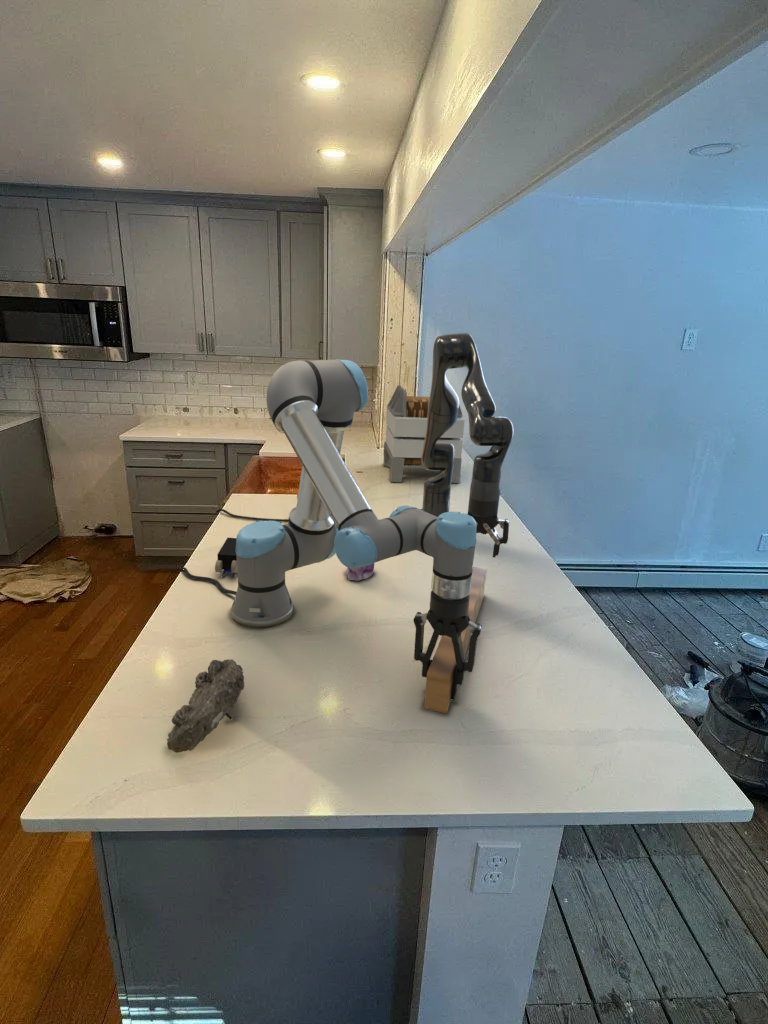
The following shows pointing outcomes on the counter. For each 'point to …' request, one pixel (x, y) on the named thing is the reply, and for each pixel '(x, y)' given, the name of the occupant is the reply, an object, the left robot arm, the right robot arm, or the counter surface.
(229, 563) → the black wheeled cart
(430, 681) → the post
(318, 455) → the left robot arm
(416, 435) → the grey stacking crate
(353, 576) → the figurine
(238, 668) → the fossil
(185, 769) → the counter surface
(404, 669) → the counter surface
